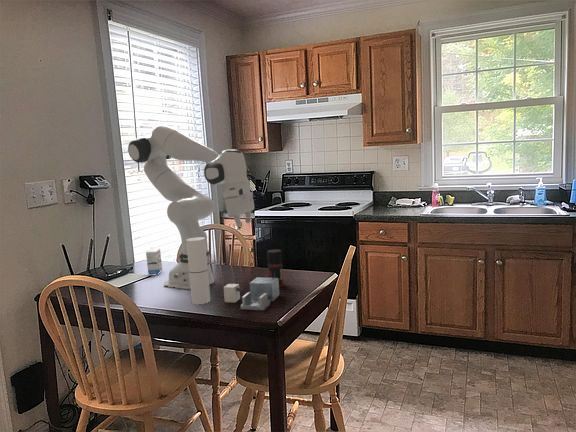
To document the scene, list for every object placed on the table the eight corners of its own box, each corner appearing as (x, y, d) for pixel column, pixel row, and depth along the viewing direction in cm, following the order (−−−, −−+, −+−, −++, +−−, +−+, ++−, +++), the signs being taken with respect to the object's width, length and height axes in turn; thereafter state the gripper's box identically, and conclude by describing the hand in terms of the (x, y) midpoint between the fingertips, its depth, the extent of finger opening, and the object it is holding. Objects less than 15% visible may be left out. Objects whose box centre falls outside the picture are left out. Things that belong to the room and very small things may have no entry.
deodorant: (281, 287, 197) (279, 252, 195) (268, 287, 198) (265, 252, 196) (284, 283, 203) (282, 249, 201) (271, 283, 204) (268, 249, 202)
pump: (240, 302, 181) (239, 287, 180) (224, 302, 183) (223, 287, 182) (244, 299, 185) (243, 284, 184) (229, 298, 187) (228, 283, 186)
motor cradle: (263, 310, 170) (262, 291, 169) (240, 309, 173) (239, 290, 172) (281, 293, 189) (279, 276, 188) (260, 292, 192) (258, 275, 191)
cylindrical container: (194, 305, 180) (188, 241, 177) (190, 300, 187) (184, 238, 183) (212, 302, 183) (206, 239, 180) (207, 297, 190) (202, 236, 186)
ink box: (158, 275, 232) (155, 251, 230) (148, 275, 232) (145, 252, 230) (162, 270, 240) (160, 248, 238) (153, 271, 240) (150, 248, 239)
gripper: (241, 188, 197) (246, 221, 198) (220, 194, 177) (226, 230, 179) (255, 186, 195) (260, 219, 196) (236, 192, 175) (242, 228, 177)
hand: (244, 224), depth 187 cm, fingers open, 8 cm apart
